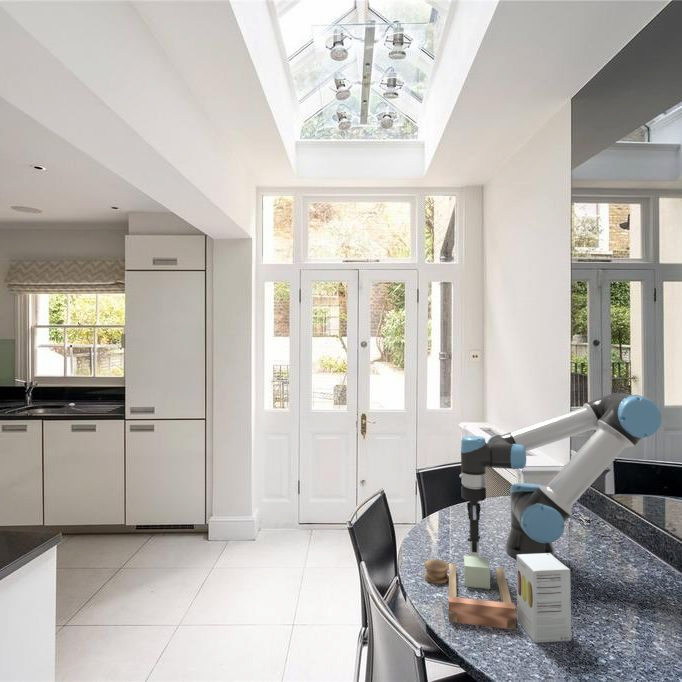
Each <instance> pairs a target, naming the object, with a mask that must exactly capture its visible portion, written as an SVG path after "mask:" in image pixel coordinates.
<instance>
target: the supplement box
mask: <svg viewBox="0 0 682 682" xmlns="http://www.w3.org/2000/svg"><path fill="white" fill-rule="evenodd" d="M571 588H572V587H571V569H570V568H569V567H567V566H566V565H565V564H563V562H561V560H559V559H557V558H556V557H555V555H554V556H553V555H552V554H551V553H540V554H518V555H517V559H516V599H517V601H516V602H517V603H516V605H517V609H516V610H517V612H516V614H517V615H516V618H517V619H516V621H517V622H518V623H519V624H520V626H521V627H522V628H523V630H524V631H525V632H526V633H527V634H528V637H530V639H531V640H532V641H533V643H535V644H536V643H539V644H540V643H555V642H568V641H569V642H571V641H572V604H571V602H572V601H571V595H572V594H571V593H572V592H571V590H572V589H571Z"/></svg>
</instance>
